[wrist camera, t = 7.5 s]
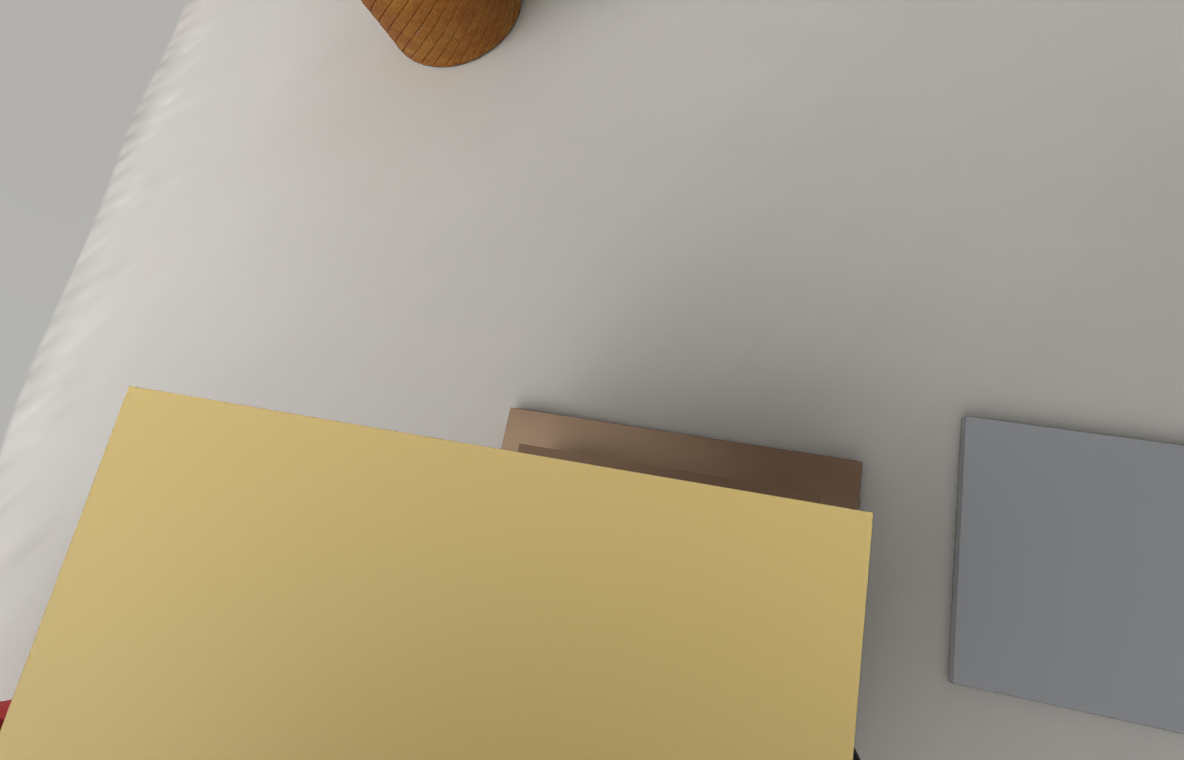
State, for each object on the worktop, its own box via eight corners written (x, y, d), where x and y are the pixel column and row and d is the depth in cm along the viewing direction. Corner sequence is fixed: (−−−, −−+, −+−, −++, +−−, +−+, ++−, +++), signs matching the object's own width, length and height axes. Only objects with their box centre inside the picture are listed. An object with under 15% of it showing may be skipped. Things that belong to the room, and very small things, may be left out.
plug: (720, 789, 14) (785, 1971, 2) (494, 728, 15) (-232, 1307, 3) (751, 544, 15) (893, 499, 3) (540, 504, 16) (123, 370, 5)
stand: (1272, 751, 17) (1285, 756, 17) (948, 680, 19) (953, 683, 18) (1254, 458, 19) (1266, 456, 19) (961, 418, 21) (966, 416, 20)
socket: (821, 880, 18) (846, 953, 15) (435, 767, 21) (382, 807, 17) (858, 464, 21) (887, 446, 17) (514, 410, 23) (482, 385, 20)
